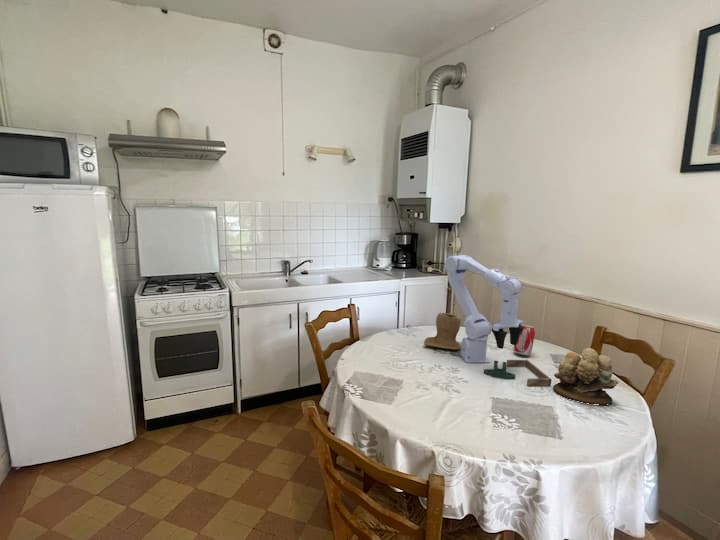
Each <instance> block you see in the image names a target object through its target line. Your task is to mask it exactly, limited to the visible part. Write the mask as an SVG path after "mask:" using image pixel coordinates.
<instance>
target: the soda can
mask: <svg viewBox="0 0 720 540" xmlns="http://www.w3.org/2000/svg"><path fill="white" fill-rule="evenodd" d="M521 327H524V330H523V331H522V333H521V334H520V336H519V339H518V342H517V344H516V345H513V351H514V352H515V353H516V354H519V355H523V356H529V355H531V354H532V352H533V346H534V341H535V336H536V330H535V326H532V325H529V324H528V325H527V324H523V326H521Z"/></svg>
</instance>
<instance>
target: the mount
mask: <svg viewBox="0 0 720 540" xmlns="http://www.w3.org/2000/svg"><path fill="white" fill-rule="evenodd" d="M498 363H499V361H497V360H494V361H493V369H492V368H491V369H489V368H488V369H487V368H486V369H483V374H484V375H486V376H489V377H492V378H497V379H503V380H515V379H516V374H515V373H512V372H509V371H507V361H502V368H498V365H499V364H498Z"/></svg>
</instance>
